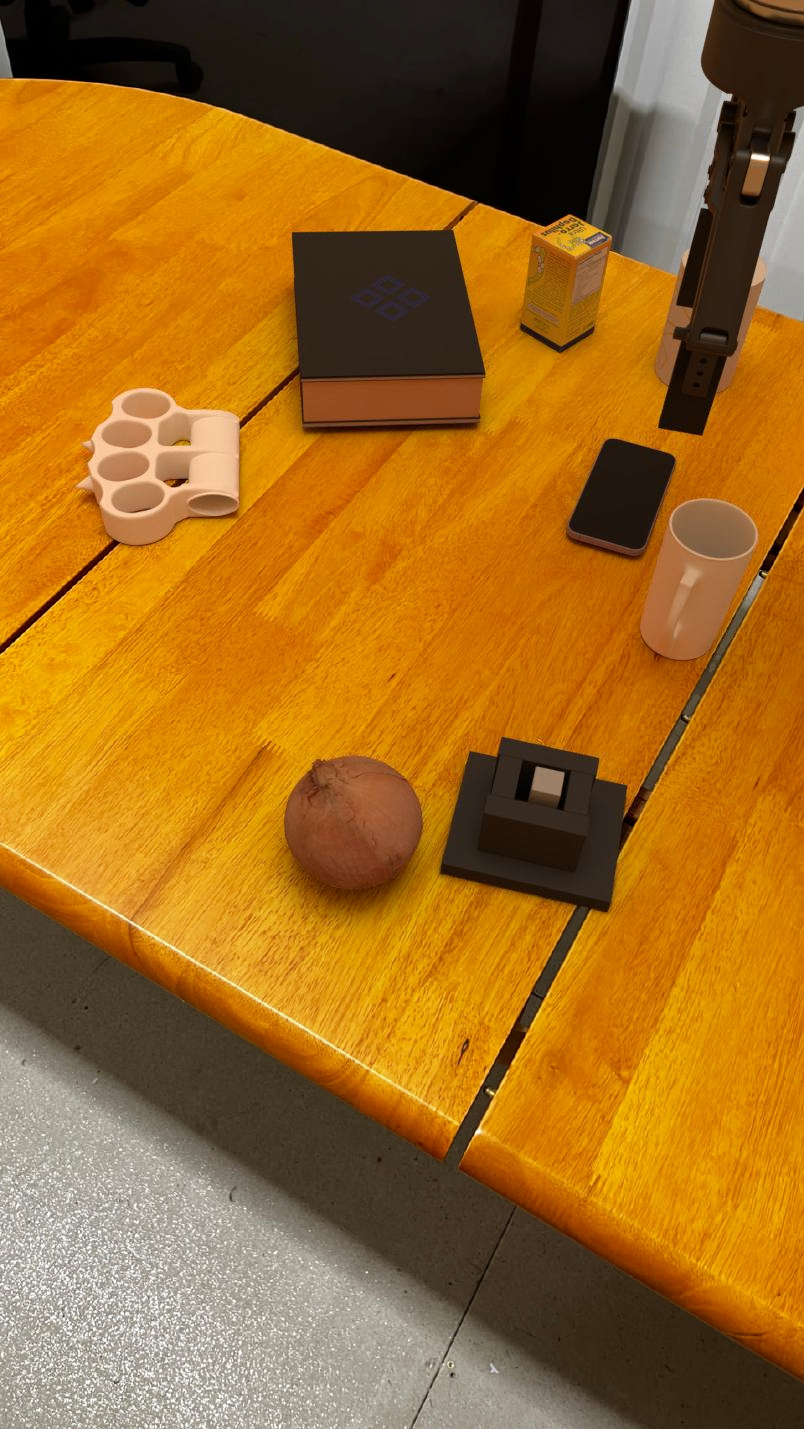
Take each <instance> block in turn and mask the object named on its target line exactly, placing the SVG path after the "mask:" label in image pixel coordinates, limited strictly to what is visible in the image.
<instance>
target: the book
mask: <svg viewBox="0 0 804 1429" xmlns="http://www.w3.org/2000/svg"><path fill="white" fill-rule="evenodd" d="M291 248H292V264H293V265H292V266H293V295H294V312H295V326H296V327H295V328H296V343H297V344H296V345H297V358H298V359H297V360H298V377H299V393H300V409H301V426H302V429H310V428H312V429H313V428H347V427H352V428H353V427H382V426H387V427H388V426H414V425H415V426H417V425H419V426H420V425H451V424H453V425H455V424H481V419H482V418H481V414H480V409H481V400H482V399H481V398H482V389H483V382H484V379H486V375H487V374H486V367H485V364H484V358H483V355H482V351H481V346H480V341H479V337H478V333H477V328H476V323H475V319H474V314H473V311H472V305H471V302H470V298H469V293H468V287H467V284H466V279H465V275H464V270H463V266H462V262H461V257H460V252H459V249H458V244H457V240H456V235H455V230H454V229H423V230H421V229H418V230H417V229H416V230H350V231H349V230H346V231H345V230H341V231H334V230H333V231H292V232H291Z"/></svg>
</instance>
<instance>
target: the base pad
mask: <svg viewBox="0 0 804 1429" xmlns="http://www.w3.org/2000/svg"><path fill="white" fill-rule="evenodd" d="M496 759H497V755H490V754H486V753H481V752H477V751H472V750H469V752H468V754H467V759H466V764H465V767H464V771H463V775H462V779H461V783H460V787H459V791H458V795H457V799H456V802H455V807H454V811H453V815H452V820H451V823H450V827H449V831H448V835H447V839H446V842H445V847H444V850H443V855H442V859H441V864H440V869H439V874H441V875H444V876H449V877H453V878H458V879H462V880H466V881H470V882H476V883H479V884H484V885H488V886H493V887H497V888H501V889H506V890H510V891H514V892H518V893H523V894H527V895H532V896H535V897H540V898H544V899H548V900H553V901H557V902H562V903H566V904H570V905H573V906H578V907H584V908H587V909H591V910H596V911H601V912H604V913H608V911H609V909H610V907H611V904H612V901H613V893H614V887H615V878H616V873H617V872H616V871H617V864H618V857H619V850H620V843H621V835H622V829H623V822H624V815H625V809H626V808H625V807H626V800H627V792H628V785H627V784H624V783H619V782H615V781H609V780H604V779H601V778H596V780H595V783H594V786H593V789H592V792H591V796H590V802H589V808H588V814H587V816H589V817H590V820H589V826H588V832H587V837H586V840H585V843H584V846H583V849H582V852H581V855H580V858H579V861H578V864H577V867H576V870H575V872H570V871H565V870H561V869H557V868H552V867H548V866H544V865H539V864H535V863H531V862H526V861H522V860H518V859H513V858H509V857H505V856H501V855H496V854H492V853H488V852H483V851H479V850H477V846H478V840H479V835H480V830H481V824H482V819H483V814H484V809H485V805H486V801H487V796H488V794H491V786H492V780H493V775H494V770H495V765H496ZM564 774H565V773H564V772H560V771H555V770H551V769H546V768H541V767H536V769H535V773H534V777H533V782H532V786H531V790H530V794H529V798H528V801H526V800H522V799H517V798H514V800H518V801H522V802H527V803H531V804H535V805H540V806H544V807H549V808H553V809H558V810H560V808H557V807H558V803H559V800H560V796H561V791H562V785H563V780H564Z"/></svg>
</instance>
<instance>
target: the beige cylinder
mask: <svg viewBox="0 0 804 1429" xmlns="http://www.w3.org/2000/svg"><path fill="white" fill-rule="evenodd" d="M689 251H690V247H689V248H687V249H686V250H685V251H684V252H683V254H682V257H681V261H680V265H679V269H678V273H677V277H676V280H675V285H674V288H673V292H672V297H671V300H670V303H669V308H668V312H667V315H666V319H665V324H664V326H663V331H662V335H661V338H660V342H659V346H658V350H657V353H656V357H655V362H654V372H655V374H656V376H657V378H658V379H659V380H660V381H661V382H662V383H663V384H664V385H666V386H667V387H668V386H669V383H670V379H671V375H672V372H673V368H674V364H675V361H676V357H677V353H678V350H679V346H680V342H681V340H676V339H672V338H673V332H674V329H675V327H676V326H678V327H684V328H685V327H686V326H687V325H688V324H689V323H690V319H691V314H692V310H693V308H688V307H682V306H676V302H677V297H678V293H679V289H680V286H681V282H682V278H683V274H684V270H685V266H686V263H687V259H688V255H689ZM766 264H767V263H765V261H764V259H763V258H761V257H760V256H759V258H758V261H757V265H756V269H755V273H754V277H753V280H752V284H751V288H750V292H749V296H748V300H747V303H746V307H745V311H744V315H743V319H742V322H741V326H740V330H739V334H738V338H737V341H738V346H737V349H736V351H735V352H734V355H732V357H727V360H726V363H725V366H724V369H723V372H722V376H721V379H720V382H719V385H718V388H717V391H716V394H719V393H721V392H723V391H724V390H726V389H727V388H728V387H730V385H731V384H732V381H733V378H734V376H735V373H736V370H737V367H738V363H739V360H740V356H741V354H742V352H743V348H744V345H745V342H746V339H747V335H748V332H749V330H750V326H751V324H752V320H753V318H754V314H755V312H756V309H757V305H758V302H759V299H760V297H761V294H762V290H763V287H764V284H765V282H766V278H767V276H768V266H767V265H766Z"/></svg>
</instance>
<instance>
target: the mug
mask: <svg viewBox="0 0 804 1429" xmlns="http://www.w3.org/2000/svg"><path fill="white" fill-rule="evenodd" d="M758 542H759V530H758V527H757V525H756V523H755V521H754V519H752V517H751V516H750V515H749V514H748V513H747V512H746V511H745V510H743V509H742V508H740V507H738V506H737V505H734V504H733V503H731V502H728V501H726V500H722V499H717V498H708V497H707V498H705V497H704V498H703V497H702V498H701V497H700V498H694V499H690V500H687V501H683V502H682V503H680V504H679V505H678V506H676V507H675V508H674V509H673V511H672V512H671V514H670V517H669V519H668V523H667V526H666V529H665V532H664V534H663V539H662V543H661V546H660V549H659V553H658V557H657V560H656V564H655V568H654V571H653V575H652V578H651V581H650V585H649V587H648V588H649V589H648V592H647V595H646V599H645V602H644V606H643V611H642V615H641V619H640V622H639V623H640V624H639V632H640V635H641V638H642V639H643V641H644V643H646V645H647V646H648V647H649V648H650V649H651V650H652V651H654V652H655V653H656V654H658V655H660V656H662V657H665V658H668V659H672V660H677V661H691V660H694V659H698V658H700V657H703V655H705V654H706V653H708V651H709V650H710V649H711V648H712V646H713V644H714V642H715V640H716V638H717V635H718V633H719V632H720V630H721V627H722V625H723V623H724V620H725V618H726V616H727V613H728V611H729V608H730V606H731V604H732V602H733V599H734V597H735V595H736V593H737V591H738V588H739V586H740V583H741V582H742V579H743V577H744V575H745V573H746V571H747V568H748V566H749V564H750V561H751V559H752V556H753V554H754V552H755V549H756V546H757V545H758Z"/></svg>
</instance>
